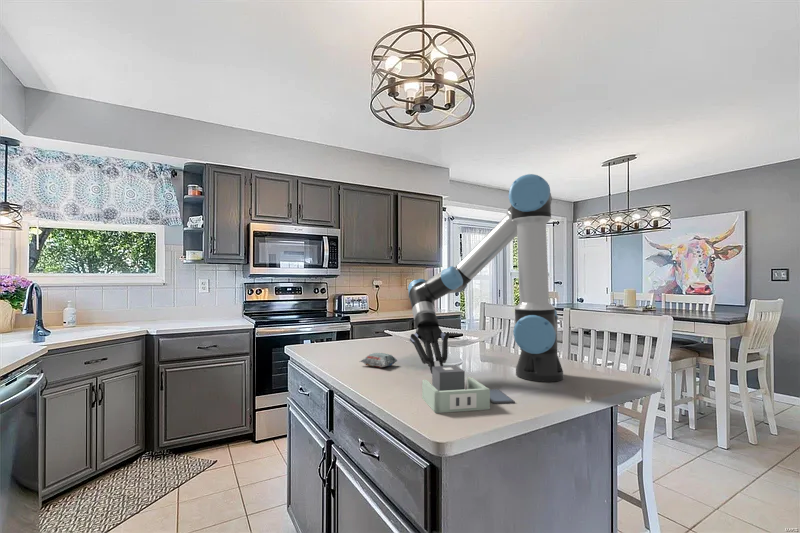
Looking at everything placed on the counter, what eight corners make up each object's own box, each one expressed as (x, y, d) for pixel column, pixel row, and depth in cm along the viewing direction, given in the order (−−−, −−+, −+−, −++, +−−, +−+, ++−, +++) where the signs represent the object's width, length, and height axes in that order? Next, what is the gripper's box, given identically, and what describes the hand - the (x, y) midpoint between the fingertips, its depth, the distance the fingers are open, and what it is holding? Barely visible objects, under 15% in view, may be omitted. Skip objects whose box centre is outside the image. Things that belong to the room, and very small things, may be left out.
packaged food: (384, 371, 139) (384, 357, 139) (358, 366, 145) (358, 353, 146) (398, 366, 146) (398, 353, 146) (372, 362, 153) (373, 350, 153)
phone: (498, 392, 115) (498, 388, 115) (515, 405, 103) (514, 401, 103) (478, 392, 114) (478, 389, 114) (493, 406, 102) (493, 401, 103)
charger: (455, 393, 112) (455, 365, 112) (464, 401, 105) (464, 371, 105) (432, 395, 110) (432, 366, 110) (439, 402, 103) (439, 372, 103)
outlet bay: (471, 394, 110) (471, 377, 110) (490, 409, 98) (490, 389, 98) (422, 398, 107) (422, 379, 107) (435, 413, 95) (435, 392, 95)
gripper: (441, 325, 132) (458, 388, 116) (404, 325, 130) (416, 390, 113) (446, 310, 127) (465, 375, 111) (407, 311, 125) (420, 377, 108)
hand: (440, 383), depth 112 cm, fingers closed
